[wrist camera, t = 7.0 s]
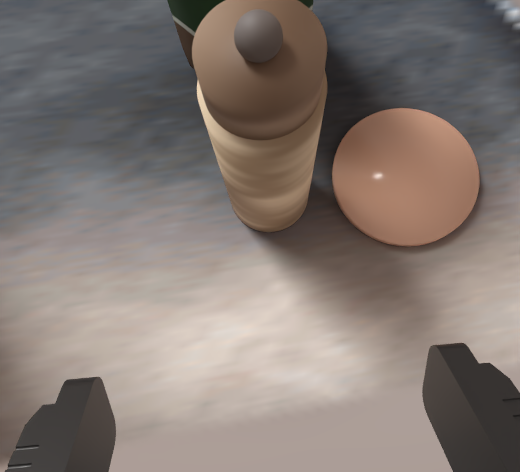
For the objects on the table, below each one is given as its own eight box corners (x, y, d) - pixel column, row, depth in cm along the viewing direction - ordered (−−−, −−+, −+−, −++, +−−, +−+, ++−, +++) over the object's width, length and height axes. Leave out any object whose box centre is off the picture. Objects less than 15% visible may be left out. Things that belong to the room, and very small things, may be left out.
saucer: (316, 224, 26) (316, 221, 25) (350, 99, 27) (351, 93, 27) (460, 263, 25) (464, 261, 24) (486, 131, 27) (491, 126, 26)
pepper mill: (221, 221, 26) (154, 71, 12) (242, 151, 27) (204, -60, 13) (297, 240, 25) (317, 108, 12) (316, 168, 26) (355, -31, 13)
